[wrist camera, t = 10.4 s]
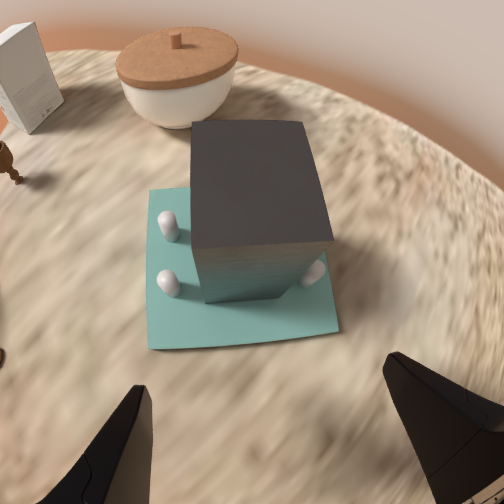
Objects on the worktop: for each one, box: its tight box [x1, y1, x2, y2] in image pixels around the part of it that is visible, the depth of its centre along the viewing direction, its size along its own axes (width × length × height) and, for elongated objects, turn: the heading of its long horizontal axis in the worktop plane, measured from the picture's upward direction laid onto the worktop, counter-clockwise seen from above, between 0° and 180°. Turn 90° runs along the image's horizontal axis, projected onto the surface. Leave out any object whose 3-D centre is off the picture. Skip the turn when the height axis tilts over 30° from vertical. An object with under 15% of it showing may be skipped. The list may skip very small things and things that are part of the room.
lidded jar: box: [116, 27, 238, 130], centre depth 22 cm, size 11×11×9 cm
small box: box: [0, 22, 64, 134], centre depth 19 cm, size 8×6×13 cm
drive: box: [190, 120, 334, 304], centre depth 15 cm, size 6×5×10 cm
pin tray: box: [146, 187, 339, 349], centre depth 19 cm, size 12×13×4 cm
